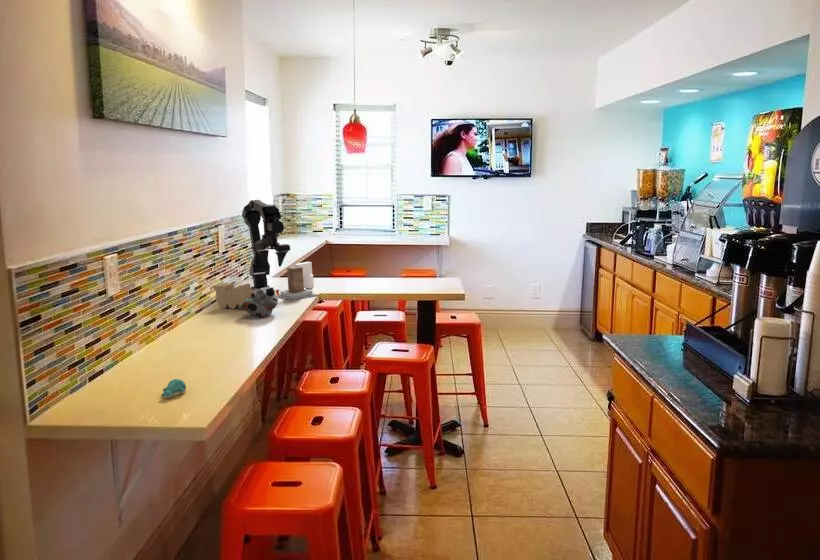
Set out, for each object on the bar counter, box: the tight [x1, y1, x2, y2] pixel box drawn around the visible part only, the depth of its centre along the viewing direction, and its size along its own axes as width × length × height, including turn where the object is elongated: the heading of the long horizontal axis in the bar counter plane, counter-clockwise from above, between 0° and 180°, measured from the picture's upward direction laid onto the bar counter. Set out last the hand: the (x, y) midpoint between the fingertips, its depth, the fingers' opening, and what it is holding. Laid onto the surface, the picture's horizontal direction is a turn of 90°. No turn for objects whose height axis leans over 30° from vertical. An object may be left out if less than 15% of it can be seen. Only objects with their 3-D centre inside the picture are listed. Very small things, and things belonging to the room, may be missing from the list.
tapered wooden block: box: [286, 266, 304, 293], centre depth 289 cm, size 5×5×12 cm
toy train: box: [212, 282, 254, 310], centre depth 268 cm, size 6×17×10 cm, turn 71°
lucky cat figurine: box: [237, 286, 280, 319], centre depth 252 cm, size 15×12×14 cm
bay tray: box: [279, 289, 319, 301], centre depth 290 cm, size 14×14×2 cm
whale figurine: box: [160, 378, 187, 399], centre depth 163 cm, size 6×7×4 cm
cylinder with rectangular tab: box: [294, 261, 315, 289], centre depth 310 cm, size 9×9×12 cm
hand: (272, 265), depth 295 cm, fingers open, 9 cm apart
